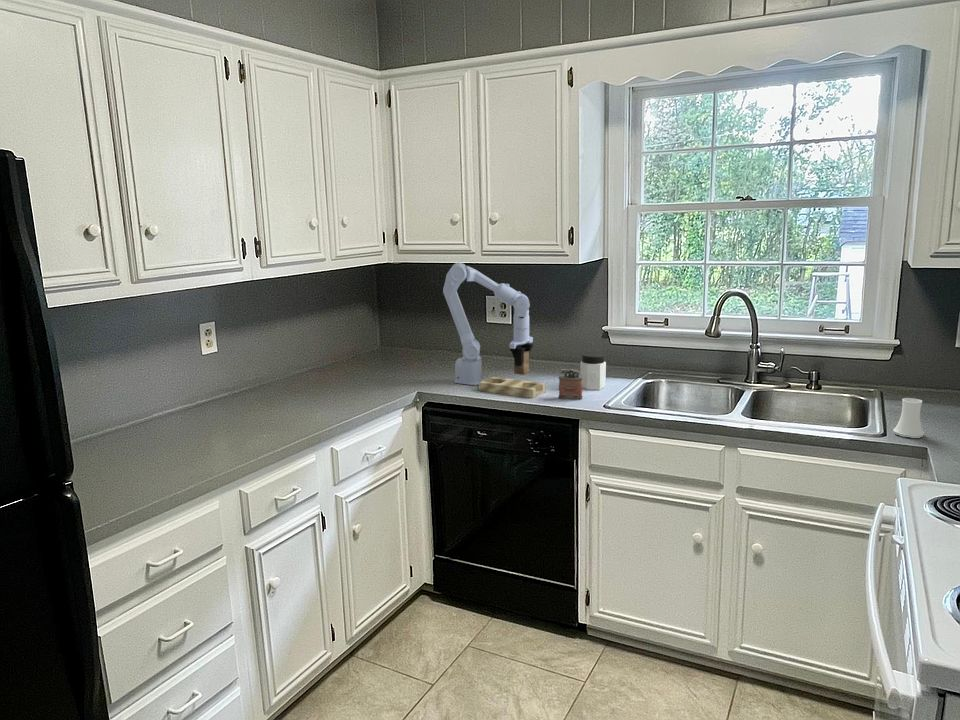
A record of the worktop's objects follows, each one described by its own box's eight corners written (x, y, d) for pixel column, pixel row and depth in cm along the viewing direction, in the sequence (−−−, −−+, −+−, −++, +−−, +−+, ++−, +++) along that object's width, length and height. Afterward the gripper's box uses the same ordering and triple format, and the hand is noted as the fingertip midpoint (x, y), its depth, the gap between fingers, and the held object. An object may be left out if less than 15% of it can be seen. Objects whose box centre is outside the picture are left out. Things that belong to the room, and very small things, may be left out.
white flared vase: (895, 428, 211) (899, 395, 208) (926, 433, 206) (930, 399, 204) (890, 435, 205) (894, 401, 203) (921, 440, 200) (925, 405, 198)
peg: (514, 373, 270) (514, 352, 268) (519, 371, 273) (519, 350, 271) (523, 374, 268) (523, 353, 266) (528, 372, 271) (528, 351, 269)
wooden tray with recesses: (478, 390, 260) (478, 382, 259) (492, 384, 268) (492, 376, 267) (533, 398, 249) (533, 389, 249) (545, 391, 257) (545, 383, 256)
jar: (580, 390, 258) (580, 356, 256) (579, 384, 266) (580, 352, 264) (606, 390, 257) (606, 356, 255) (604, 384, 265) (605, 352, 263)
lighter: (583, 397, 249) (583, 368, 247) (581, 400, 246) (582, 371, 243) (559, 396, 251) (559, 367, 249) (557, 398, 248) (557, 370, 246)
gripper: (521, 332, 258) (521, 369, 261) (540, 325, 271) (540, 361, 274) (504, 330, 262) (504, 367, 265) (523, 324, 274) (523, 359, 277)
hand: (521, 364), depth 270 cm, fingers closed on peg, 4 cm apart
